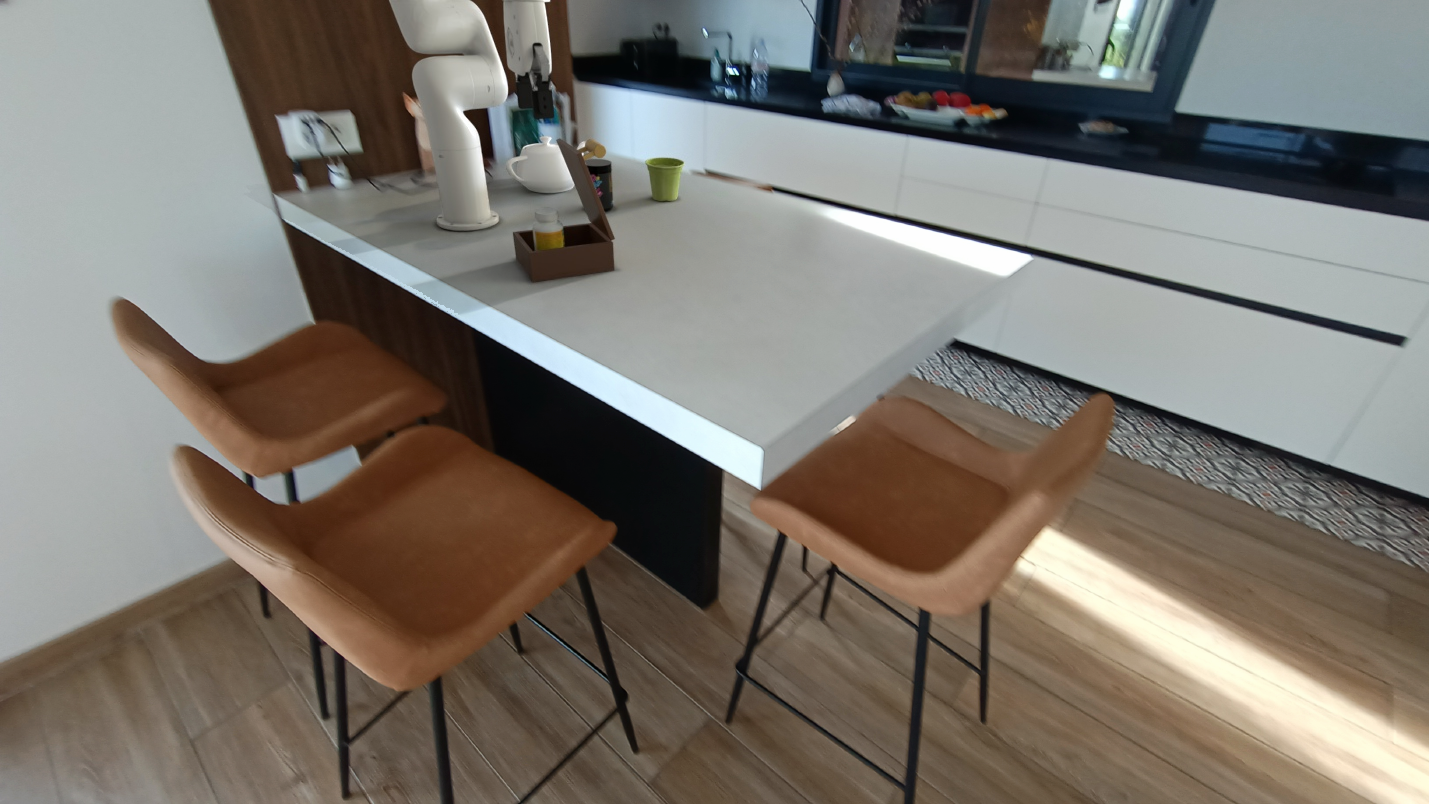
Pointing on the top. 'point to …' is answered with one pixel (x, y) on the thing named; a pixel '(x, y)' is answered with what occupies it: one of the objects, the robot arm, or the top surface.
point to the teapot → (542, 167)
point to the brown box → (566, 254)
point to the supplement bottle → (547, 229)
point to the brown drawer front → (586, 181)
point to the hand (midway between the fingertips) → (536, 113)
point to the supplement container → (602, 180)
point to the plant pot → (664, 177)
